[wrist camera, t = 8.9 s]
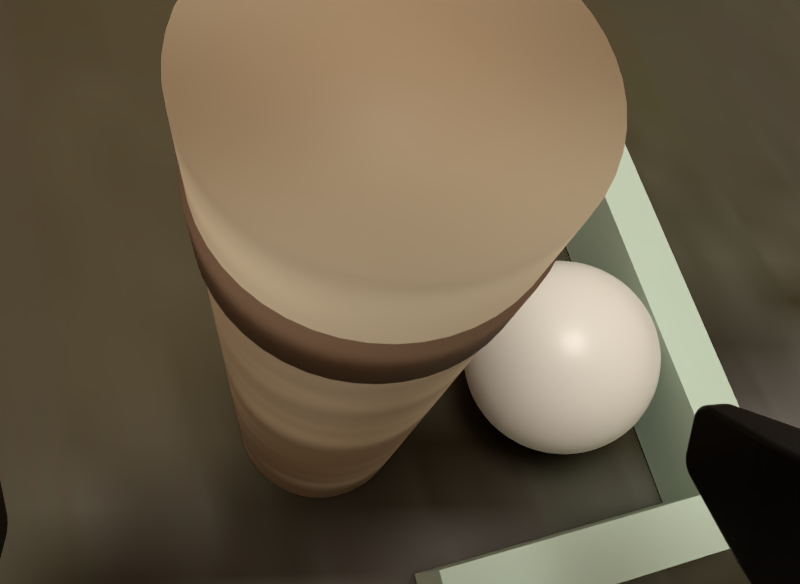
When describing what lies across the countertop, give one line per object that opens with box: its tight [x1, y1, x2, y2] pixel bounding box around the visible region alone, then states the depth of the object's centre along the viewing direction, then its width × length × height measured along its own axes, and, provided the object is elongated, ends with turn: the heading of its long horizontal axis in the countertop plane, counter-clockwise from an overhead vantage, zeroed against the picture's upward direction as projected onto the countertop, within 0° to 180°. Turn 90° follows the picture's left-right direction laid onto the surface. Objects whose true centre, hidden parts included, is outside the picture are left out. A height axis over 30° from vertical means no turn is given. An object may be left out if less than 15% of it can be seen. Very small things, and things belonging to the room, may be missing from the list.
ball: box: [464, 261, 661, 454], centre depth 17 cm, size 5×5×5 cm
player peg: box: [161, 0, 627, 498], centre depth 12 cm, size 4×4×13 cm
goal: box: [415, 145, 739, 584], centre depth 18 cm, size 11×8×3 cm
